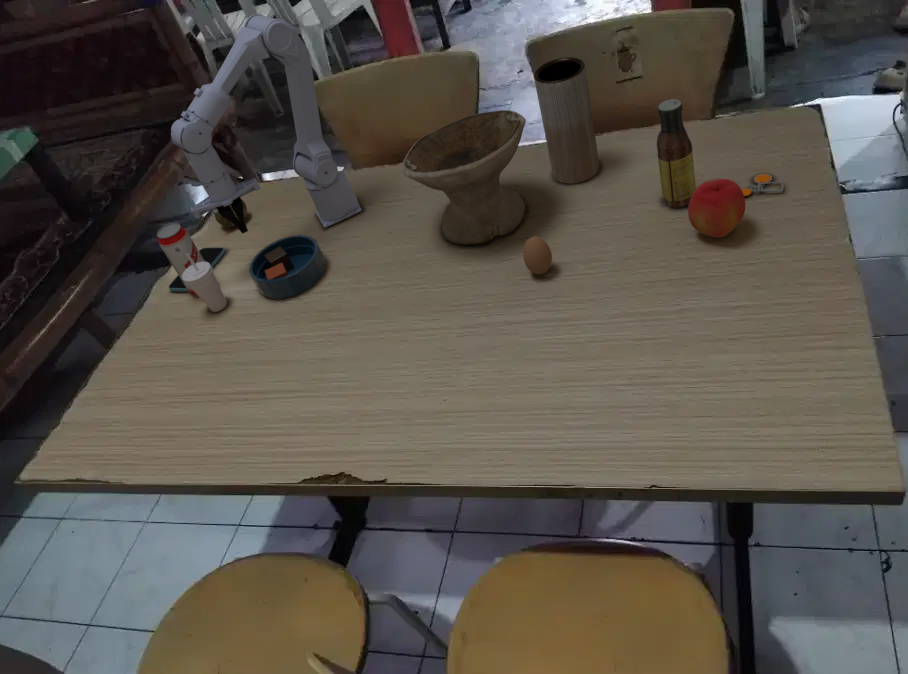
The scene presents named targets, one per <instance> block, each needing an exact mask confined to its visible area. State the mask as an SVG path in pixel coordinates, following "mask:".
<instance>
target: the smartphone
mask: <svg viewBox="0 0 908 674" xmlns="http://www.w3.org/2000/svg"><path fill="white" fill-rule="evenodd" d="M198 251H199V252H200V254H201V256H202V258H203V259H204V261H205V262H208V263H209V264H210V265H211V266H212V268H213V269H214V267H215V265H216V264H217V263H218V262H219V261H220V259H221V258H222V256H224V255H225V254H226V249H225V248H224V247H203V248H201V249H198ZM167 288H168V289H169V291H170V292H189V291H188V290H187V288H186V287H185V285H184V283H183V282H182V280H181V279H180V277H179V275H178V274H177V275H176V277H175V278H174V279H173V280H172V281H171V282H170V283H169V285H168V287H167Z"/></svg>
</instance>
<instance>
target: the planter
mask: <svg viewBox="0 0 908 674" xmlns="http://www.w3.org/2000/svg"><path fill="white" fill-rule="evenodd" d="M533 80H534V85H535V90H536V95H537V96H536V97H537V100H538V101H537V102H538V105H539V111H540V117H541V120H542V126H543V130H544V136H545V142H546V146H547V151H548V156H549V162H550V166H551V168H550V169H551V172H552V176H553V178H554V179H555V180H556V181H557V182H559V183H562V184H577V183H582V182H585V181H587V180H590V179H591V178H593V177H594V176H595V175H596V174H597V173H598V172H599V170H600V160H599V153H598V146H597V139H596V132H595V131H596V130H595V126H594V125H595V123H594V117H593V110H592V105H591V104H592V102H591V97H590V96H591V95H590V90H589V81H588V75H587V68H586V64H585V62H584V61H583V60H582V59H580V58H578V57H573V56H572V57H571V56H569V57H560V58H556V59H552V60H550V61H548V62H545V63H543V64H541V65H540V66H539V67H538V68H537V69H536V70H535V72H534V73H533Z"/></svg>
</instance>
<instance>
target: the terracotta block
mask: <svg viewBox="0 0 908 674" xmlns="http://www.w3.org/2000/svg"><path fill="white" fill-rule="evenodd" d="M265 273H266V276H267V278H268V280H272V279H278V278H282V277H285V276H288V275H289V274H288V272H287V271H286V269H285V267H284V265H283V263H280V264H278V265H276V266H274V267H271V268H269V269H267V270H265Z"/></svg>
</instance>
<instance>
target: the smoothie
mask: <svg viewBox="0 0 908 674" xmlns="http://www.w3.org/2000/svg"><path fill="white" fill-rule="evenodd" d="M186 256H187V257H188V259H189V260H190V262H191V263H192V265H191V266H190V267H188V268H187V269H186V270H185V271H184V272H183V274H182V279H183V281H184V283H185V284H187V285H189V286H190V287H191V288H192V290H193V291H194V292H195V293H196V294H197V295H198V296H197V295H196V296H197V297H199V299H200V300H201V301H202V302H203V303H204V304H205V305H206V307H207V308H208V309H209V310H210V311H211V312H214V313H216V312H219V311H221V310H223V309H224V308H226V306H227V304H228V301H227V299H226V297H225V295H224V292H223V290H222V289H221V286H220V283H219V282H218V279H217V278H216V275H215V274H214V271H213V269H214V267H213V268H212V266H211V265H210V264H209V263H208V262H198V263H194V261H193V260H192V258H191V257H190V255H189V254H188V253H187V254H186Z"/></svg>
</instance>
